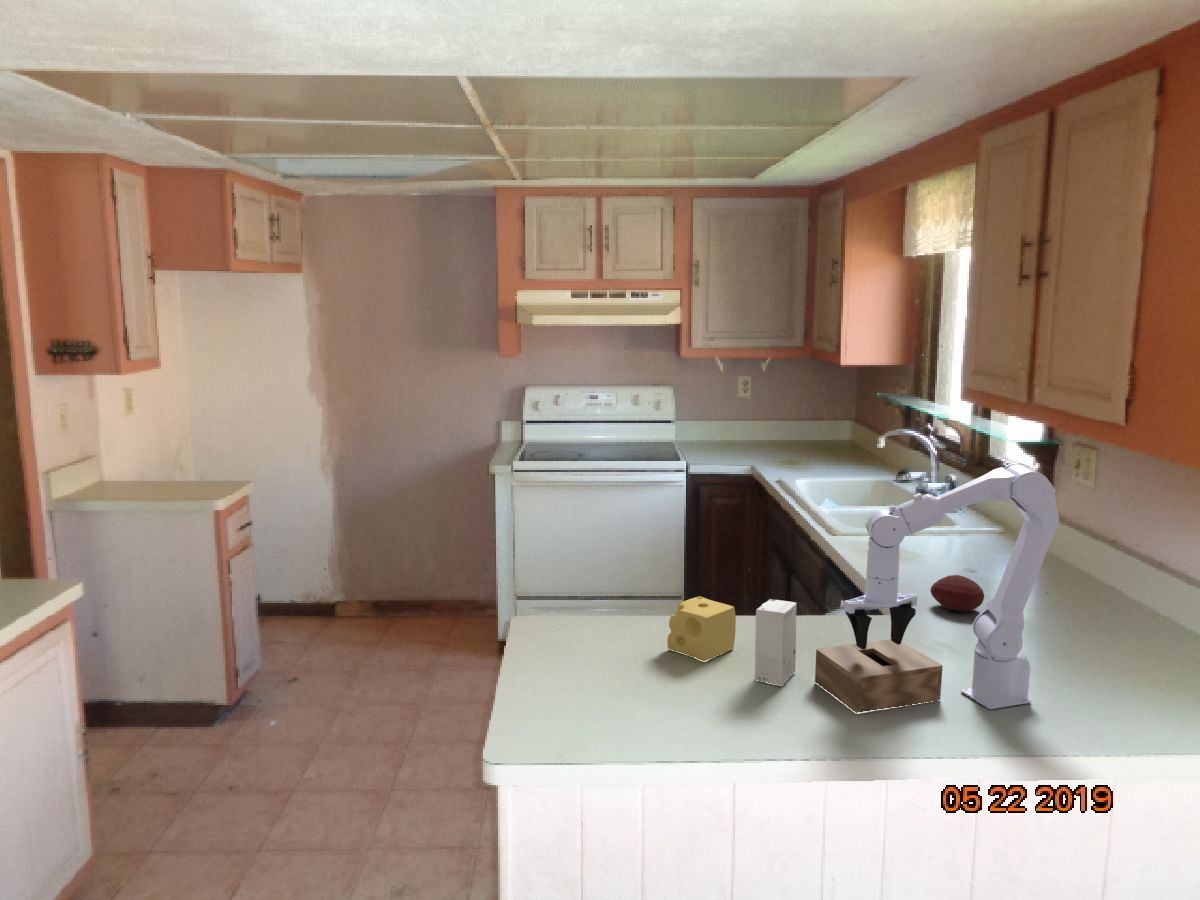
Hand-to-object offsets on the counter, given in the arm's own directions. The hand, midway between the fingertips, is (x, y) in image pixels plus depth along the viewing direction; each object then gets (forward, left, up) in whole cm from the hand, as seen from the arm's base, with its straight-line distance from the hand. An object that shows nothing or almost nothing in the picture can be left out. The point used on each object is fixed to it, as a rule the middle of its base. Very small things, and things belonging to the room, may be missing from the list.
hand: (878, 645), depth 170 cm
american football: (-45, -33, -10) cm, 57 cm away
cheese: (+23, -29, -10) cm, 38 cm away
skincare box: (+15, -12, -10) cm, 21 cm away
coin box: (0, 0, -9) cm, 9 cm away
